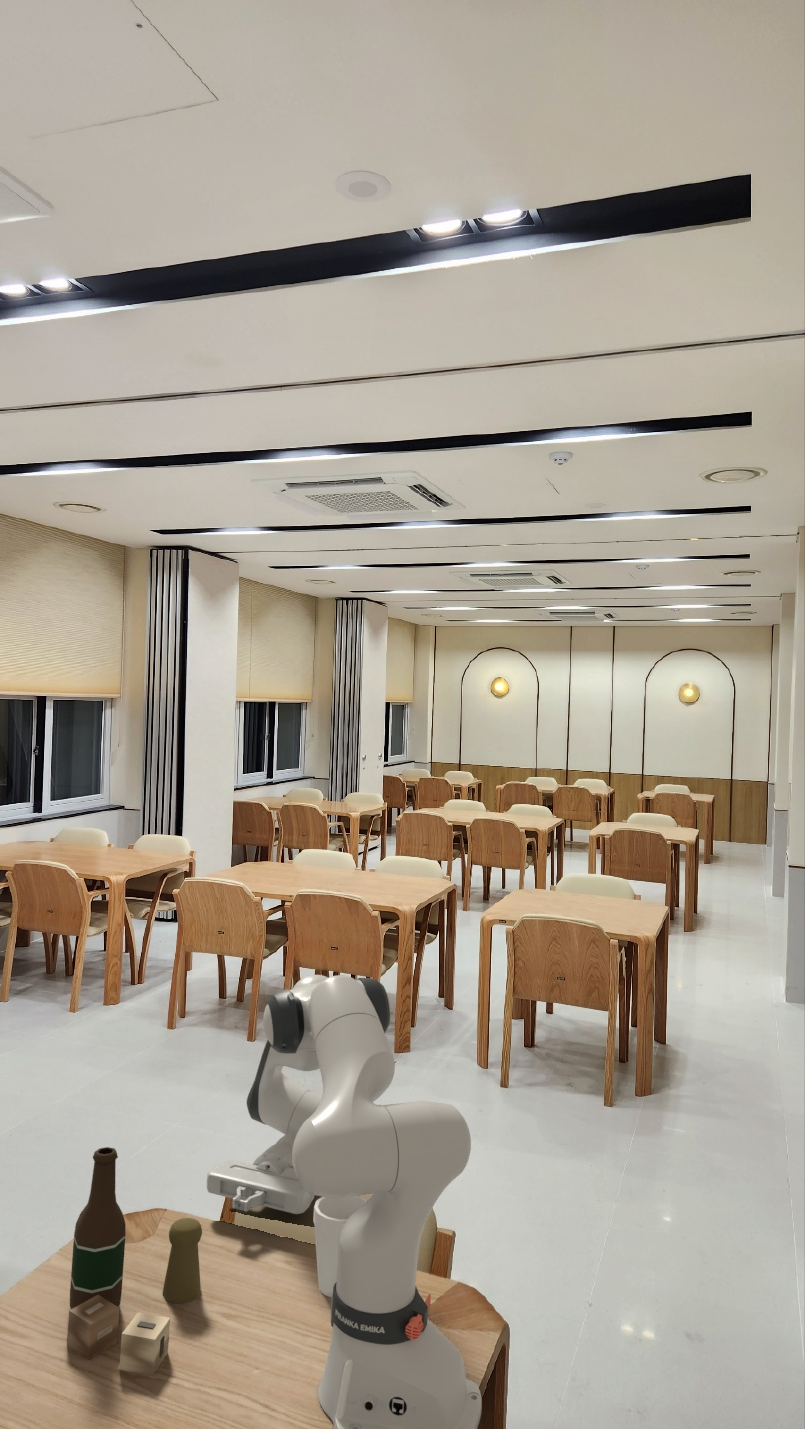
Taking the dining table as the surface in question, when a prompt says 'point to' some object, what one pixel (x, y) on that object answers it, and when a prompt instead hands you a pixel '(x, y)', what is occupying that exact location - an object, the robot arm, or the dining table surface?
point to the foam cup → (331, 1235)
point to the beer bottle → (99, 1238)
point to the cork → (183, 1262)
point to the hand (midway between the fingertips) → (239, 1205)
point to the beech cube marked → (144, 1343)
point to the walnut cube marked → (93, 1326)
